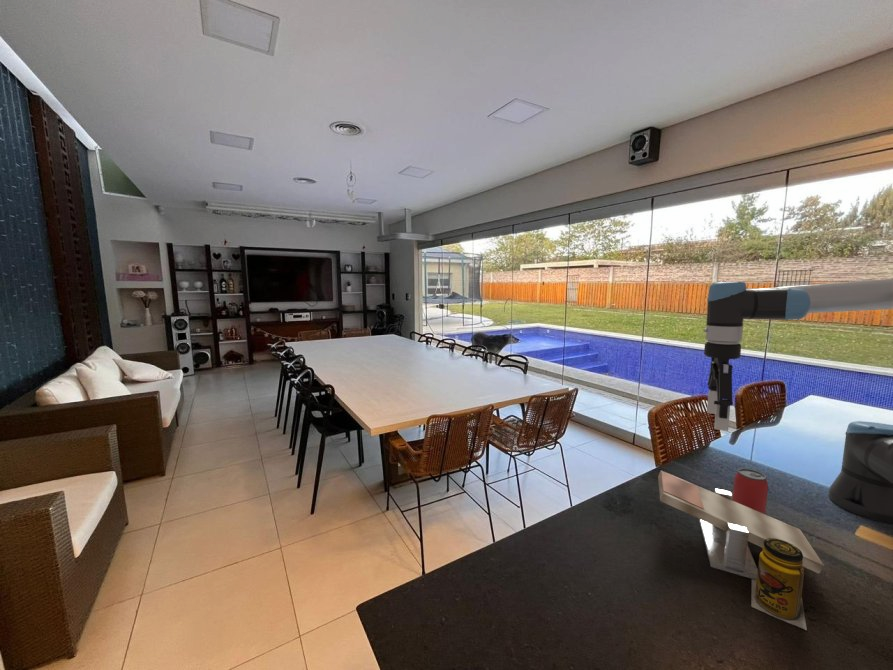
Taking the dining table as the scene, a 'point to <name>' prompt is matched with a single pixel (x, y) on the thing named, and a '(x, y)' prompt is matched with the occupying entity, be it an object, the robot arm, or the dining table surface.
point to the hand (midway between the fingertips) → (716, 421)
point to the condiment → (780, 582)
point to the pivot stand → (729, 546)
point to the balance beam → (733, 516)
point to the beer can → (751, 489)
